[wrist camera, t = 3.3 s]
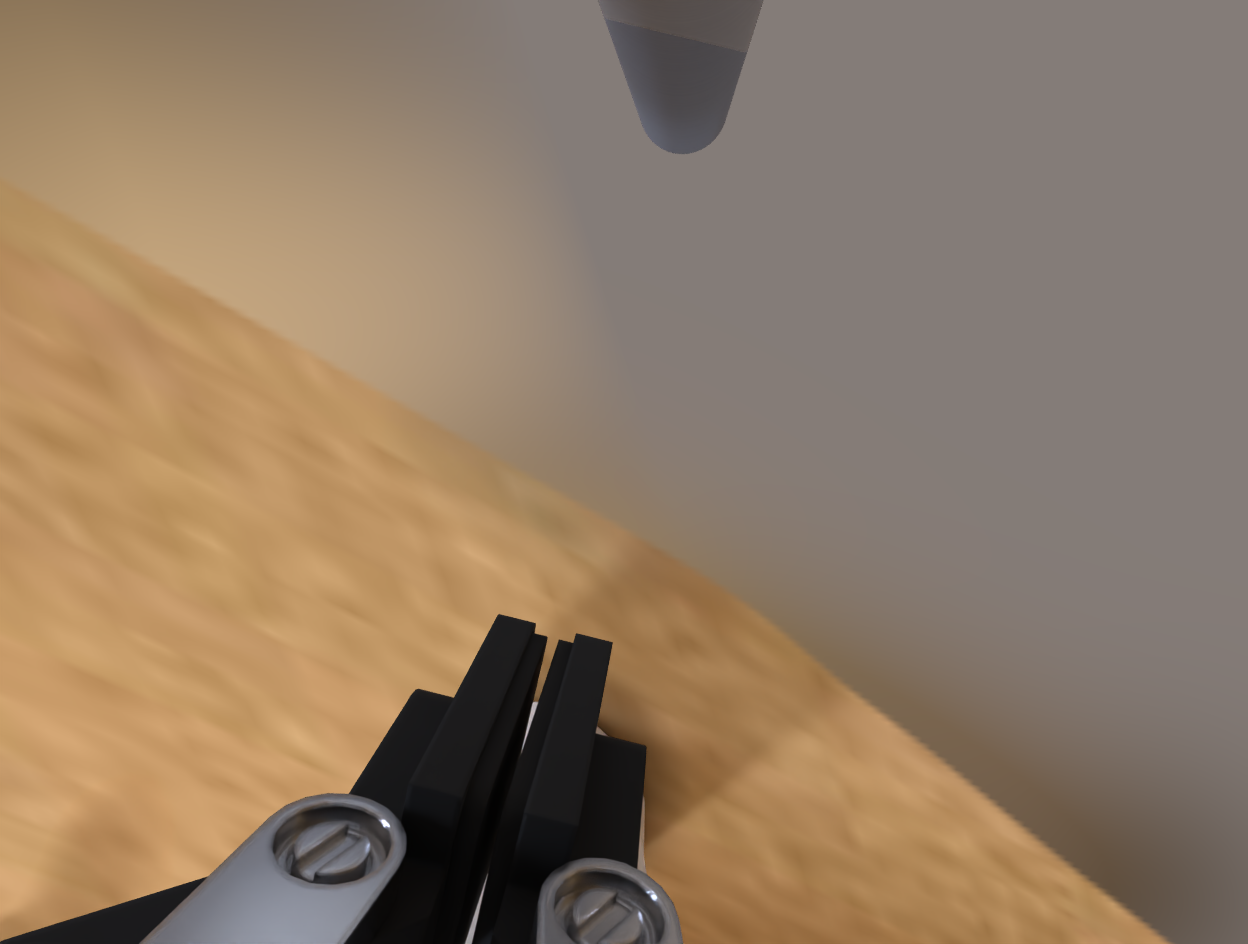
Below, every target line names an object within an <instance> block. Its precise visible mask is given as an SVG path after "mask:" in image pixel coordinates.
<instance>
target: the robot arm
mask: <svg viewBox="0 0 1248 944" xmlns="http://www.w3.org/2000/svg"><path fill="white" fill-rule="evenodd" d="M535 627H536V623H533V622H529V621H525V620H521V619H517V618H513V617H508V616H504V615H500V614H498V616H497V618H496V619H495V621H494V623H493V625H492V627H491V629H490V631H489V633H488V634H487V636H486V638H485V640H484V642H483V644H482V646H481V648H480V650H479V651H478V653H477V655H476V657H475V659H474V661H473V663H472V665H471V667H470V668H469V670H468V672H467V674H466V676H465V678H464V680H463V682H462V683H461V685H460V687H459V689H458V691H457V693H456V695H455V697H454V698H453V697H449V696H445V695H441V694H437V693H433V692H429V691H425V690H421V689H416V690H415V691H414V692H413V694H412V695H411V696H410V698H409V699H408V701H407V703H406V704H405V706H404V707H403V709H402V711H401V712H400V714H399V715H398V717H397V718H396V720H395V722H394V723H393V725H392V726H391V728H390V729H389V731H388V733H387V734H386V736H385V737H384V739H383V741H382V742H381V744H380V745H379V747H378V748H377V750H376V752H375V753H374V755H373V756H372V758H371V760H370V761H369V763H368V764H367V766H366V767H365V769H364V771H363V772H362V774H361V775H360V777H359V778H358V780H357V782H356V783H355V785H354V786H353V788H352V790H351V791H350V793H349V794H334V793H327V794H321V795H315V796H309V797H305V798H303V799H300V800H298V801H295V802H293V803H290V804H288V805H286V806H284V807H283V808H281V809H280V810H279V811H277V812H276V813H274V814H273V815H272V816H270V817H269V818H268V819H267V820H266V821H265V822H264V823H263V824H262V825H261V826H260V827H259V828H258V829H257V830H256V831H255V832H254V833H253V834H252V835H251V836H250V837H249V838H248V839H246V840H245V841H244V842H243V843H242V844H241V845H240V846H239V847H238V848H237V849H236V850H235V851H234V852H233V853H232V854H231V855H230V856H229V857H228V858H227V859H226V860H225V861H224V862H223V863H222V864H221V865H220V866H219V867H218V868H217V869H216V870H215V871H213V872H212V873H211V874H210V875H209V876H208V877H205V878H202V879H198V880H195V881H192V882H189V883H186V884H182V885H179V886H176V887H173V888H170V889H166V890H163V891H160V892H157V893H154V894H150V895H147V896H144V897H141V898H137V899H134V900H131V901H128V902H125V903H121V904H118V905H115V906H112V907H109V908H105V909H102V910H99V911H96V912H93V913H89V914H86V915H83V916H80V917H76V918H73V919H70V920H67V921H64V922H60V923H57V924H54V925H51V926H48V927H44V928H41V929H38V930H35V931H32V932H28V933H25V934H22V935H19V936H16V937H12V938H9V939H6V940H3V941H1V942H0V944H465V942H466V939H467V936H468V933H469V930H470V927H471V924H472V921H473V917H474V914H475V911H476V908H477V905H478V902H479V899H480V896H481V893H482V890H483V886H484V883H485V880H486V884H485V888H484V892H483V897H482V901H481V905H480V910H479V914H478V919H477V923H476V927H475V932H474V936H473V940H472V944H683V939H682V934H681V928H680V922H679V918H678V915H677V913H676V910H675V907H674V904H673V902H672V901H671V899H670V898H669V896H668V895H667V894H666V892H665V891H664V890H663V888H662V887H661V886H660V885H659V884H658V883H656V882H655V881H654V880H653V879H652V878H650V877H649V876H648V875H647V874H645V873H644V872H642V871H640V870H638V869H637V867H638V854H639V841H640V828H641V815H642V802H643V789H644V777H645V764H646V746H645V745H641V744H637V743H633V742H629V741H625V740H621V739H617V738H613V737H609V736H605V735H601V734H597V733H596V729H597V724H598V718H599V713H600V708H601V703H602V697H603V692H604V687H605V681H606V676H607V671H608V665H609V660H610V655H611V649H612V644H613V642H609V641H605V640H601V639H597V638H593V637H589V636H585V635H581V634H577V633H576V636H575V639H574V643H571V642H567V641H563V640H559V641H558V644H557V647H556V650H555V653H554V656H553V659H552V662H551V665H550V668H549V671H548V674H547V677H546V680H545V683H544V686H543V689H542V692H541V695H540V698H539V701H538V704H537V707H536V710H535V713H534V716H533V719H532V722H531V725H530V728H529V731H528V734H527V737H526V740H525V743H524V739H525V734H526V730H527V726H528V721H529V717H530V713H531V709H532V704H533V700H534V696H535V691H536V687H537V683H538V678H539V674H540V670H541V665H542V661H543V657H544V652H545V648H546V643H547V636H543V635H539V634H535ZM523 743H524V746H523ZM522 747H523V749H522ZM487 874H488V875H487ZM486 877H487V879H486Z"/></svg>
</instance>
